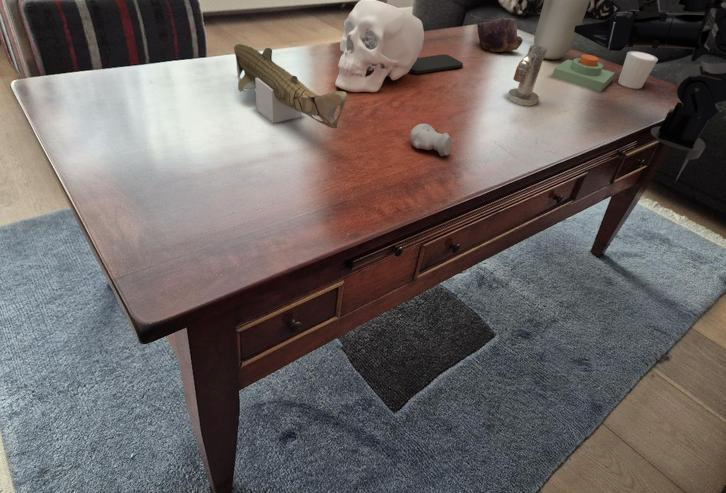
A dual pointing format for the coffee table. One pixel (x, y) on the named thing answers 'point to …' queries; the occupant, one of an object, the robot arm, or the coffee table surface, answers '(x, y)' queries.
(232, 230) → the coffee table surface
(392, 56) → the skull planter
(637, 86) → the shot glass
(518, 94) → the faucet
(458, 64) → the phone
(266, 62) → the wood carving
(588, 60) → the button
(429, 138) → the smooth white sculpture
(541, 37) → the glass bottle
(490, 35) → the rock
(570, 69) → the push button box
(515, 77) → the spout
